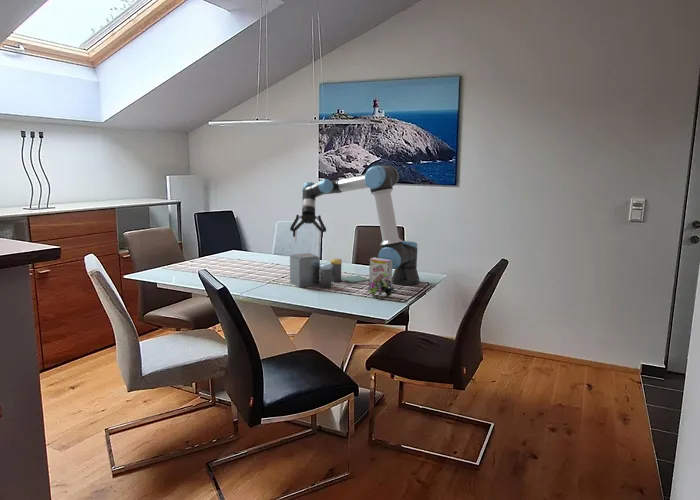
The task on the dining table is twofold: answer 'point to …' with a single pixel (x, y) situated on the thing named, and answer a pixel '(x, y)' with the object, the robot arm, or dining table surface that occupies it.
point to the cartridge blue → (325, 275)
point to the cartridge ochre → (336, 270)
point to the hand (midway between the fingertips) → (307, 242)
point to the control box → (304, 270)
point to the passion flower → (382, 287)
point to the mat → (354, 279)
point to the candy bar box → (380, 270)
